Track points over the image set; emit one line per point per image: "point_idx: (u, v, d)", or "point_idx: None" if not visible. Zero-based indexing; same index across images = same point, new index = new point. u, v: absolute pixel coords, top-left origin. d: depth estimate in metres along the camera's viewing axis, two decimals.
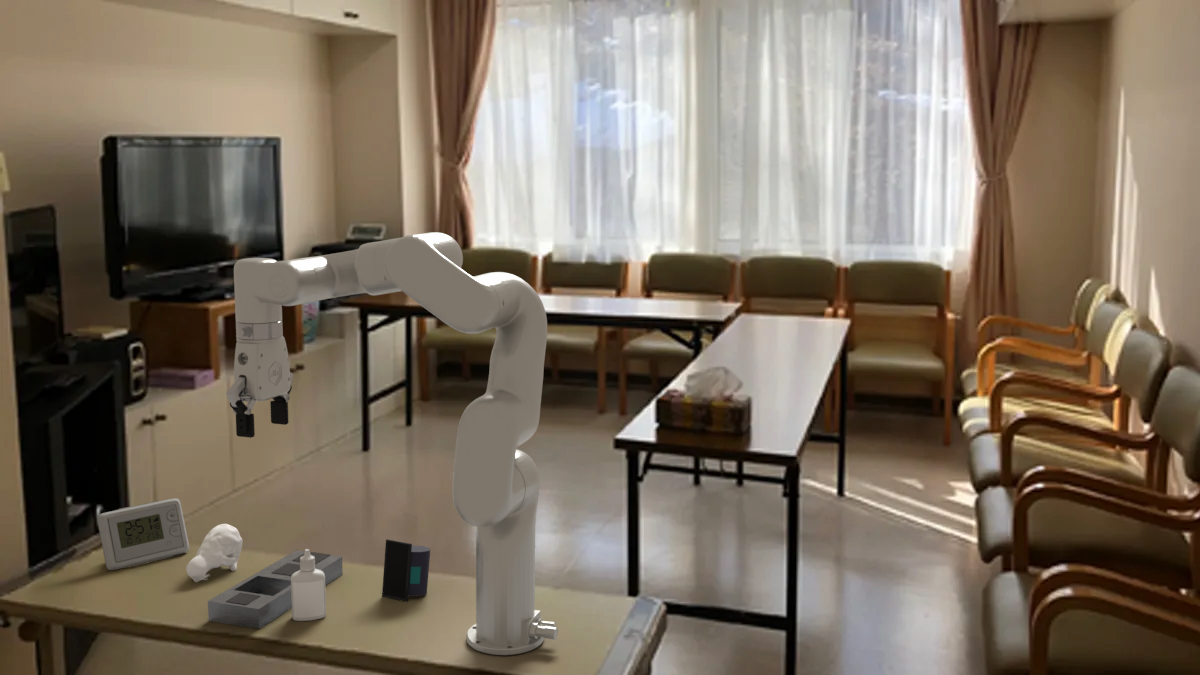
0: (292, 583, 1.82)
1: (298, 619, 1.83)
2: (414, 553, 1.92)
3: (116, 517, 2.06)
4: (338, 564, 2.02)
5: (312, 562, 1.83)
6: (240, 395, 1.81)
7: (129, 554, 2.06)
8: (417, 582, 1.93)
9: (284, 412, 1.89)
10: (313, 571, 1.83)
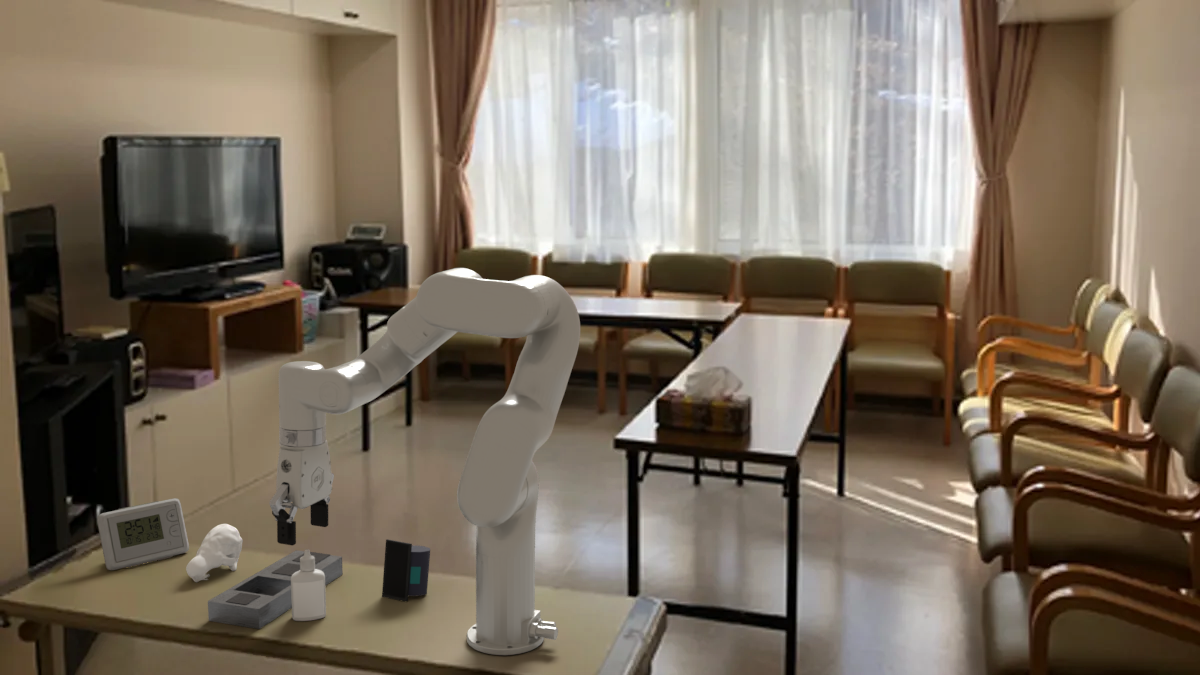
0: (292, 583, 1.82)
1: (298, 619, 1.83)
2: (414, 553, 1.92)
3: (116, 517, 2.06)
4: (338, 564, 2.02)
5: (312, 562, 1.83)
6: (282, 502, 1.78)
7: (129, 554, 2.06)
8: (417, 582, 1.93)
9: (324, 515, 1.86)
10: (313, 571, 1.83)
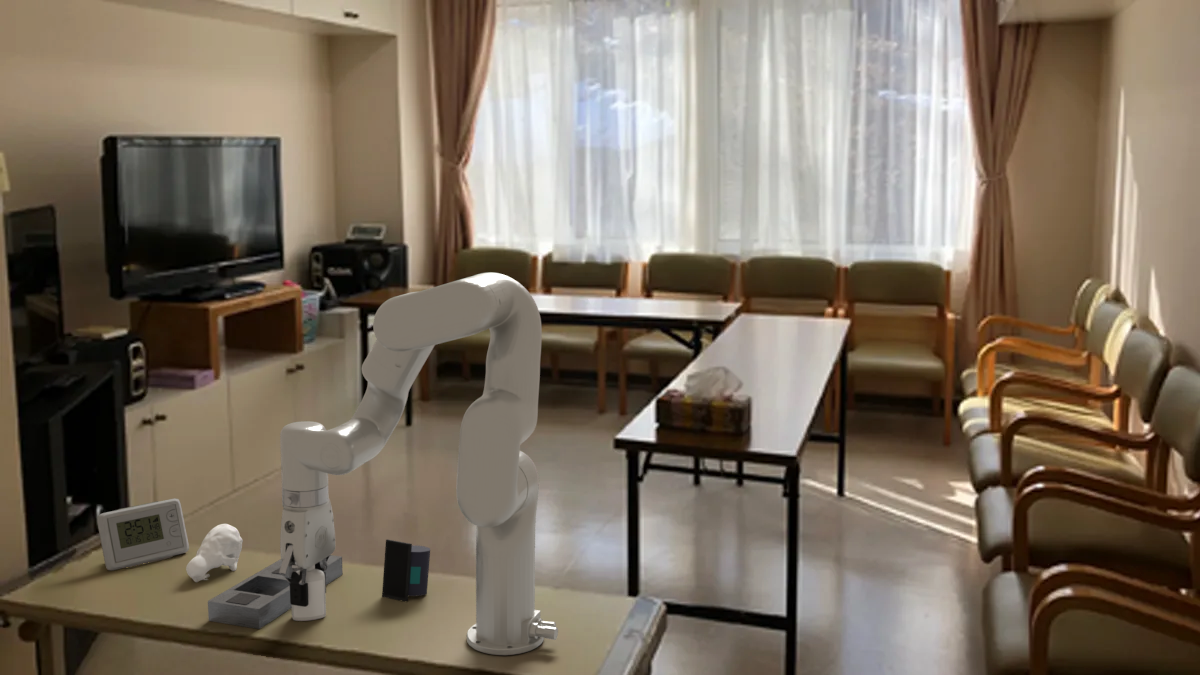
0: None
1: (298, 619, 1.83)
2: (414, 553, 1.92)
3: (116, 517, 2.06)
4: (338, 564, 2.02)
5: None
6: None
7: (129, 554, 2.06)
8: (417, 582, 1.93)
9: None
10: (313, 571, 1.83)
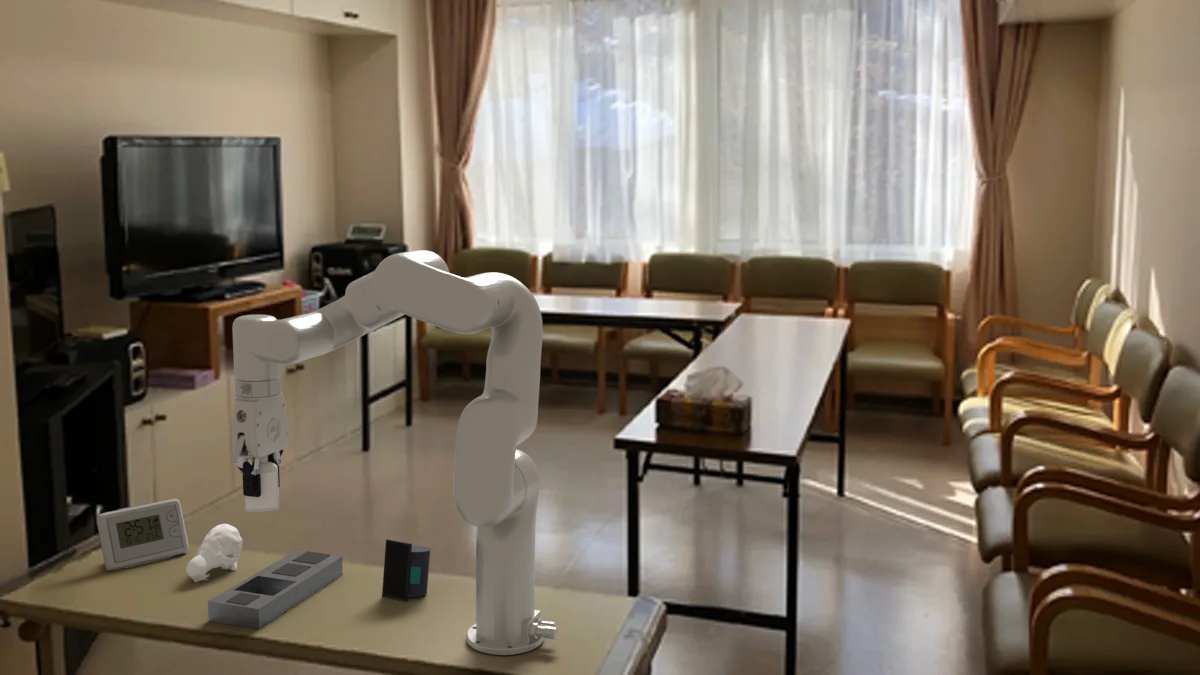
0: None
1: (251, 510, 1.85)
2: (414, 553, 1.92)
3: (115, 517, 2.06)
4: (338, 564, 2.02)
5: None
6: None
7: (128, 554, 2.06)
8: (417, 582, 1.93)
9: None
10: (266, 463, 1.85)
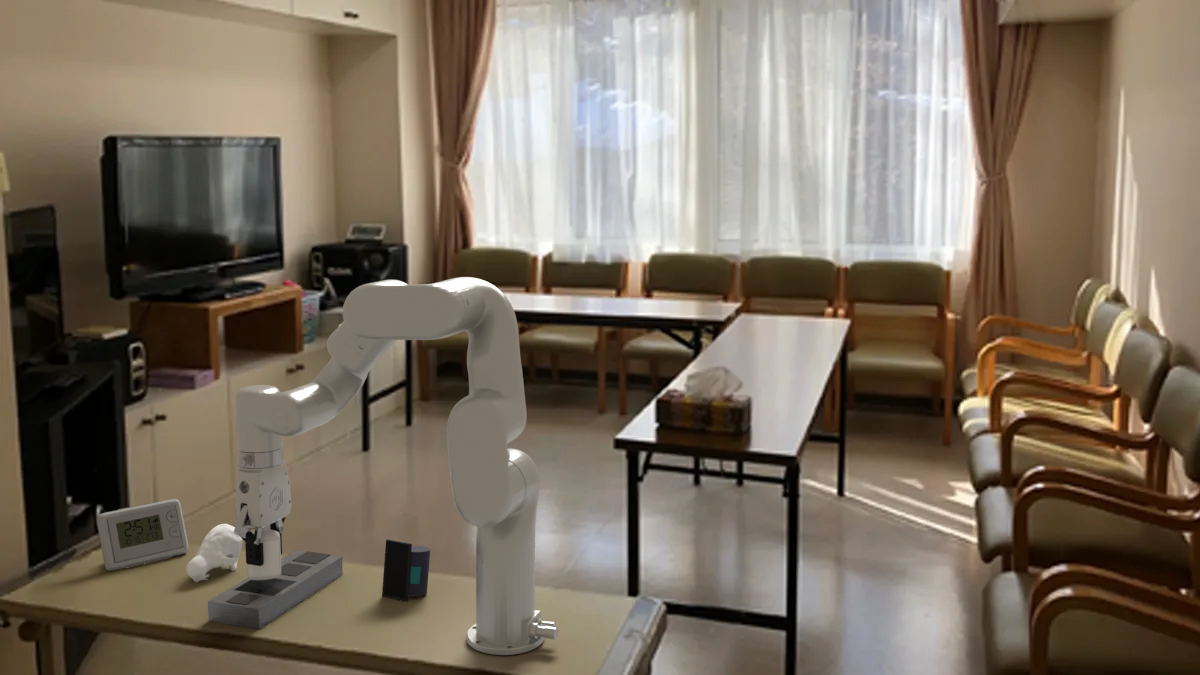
0: None
1: (253, 578, 1.87)
2: (414, 553, 1.92)
3: (115, 517, 2.06)
4: (338, 564, 2.02)
5: None
6: None
7: (128, 555, 2.05)
8: (417, 582, 1.93)
9: None
10: (268, 531, 1.87)
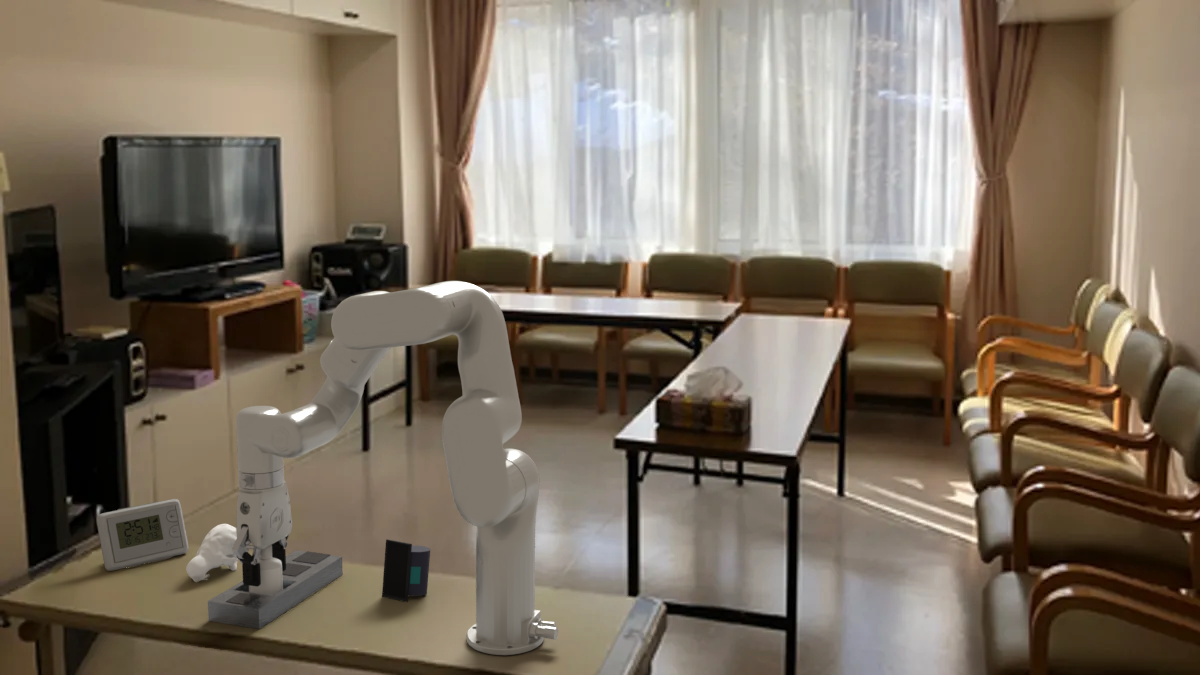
0: None
1: None
2: (414, 553, 1.92)
3: (115, 517, 2.06)
4: (338, 564, 2.02)
5: (269, 550, 1.88)
6: None
7: (128, 555, 2.05)
8: (417, 582, 1.93)
9: (282, 559, 1.91)
10: (270, 559, 1.88)
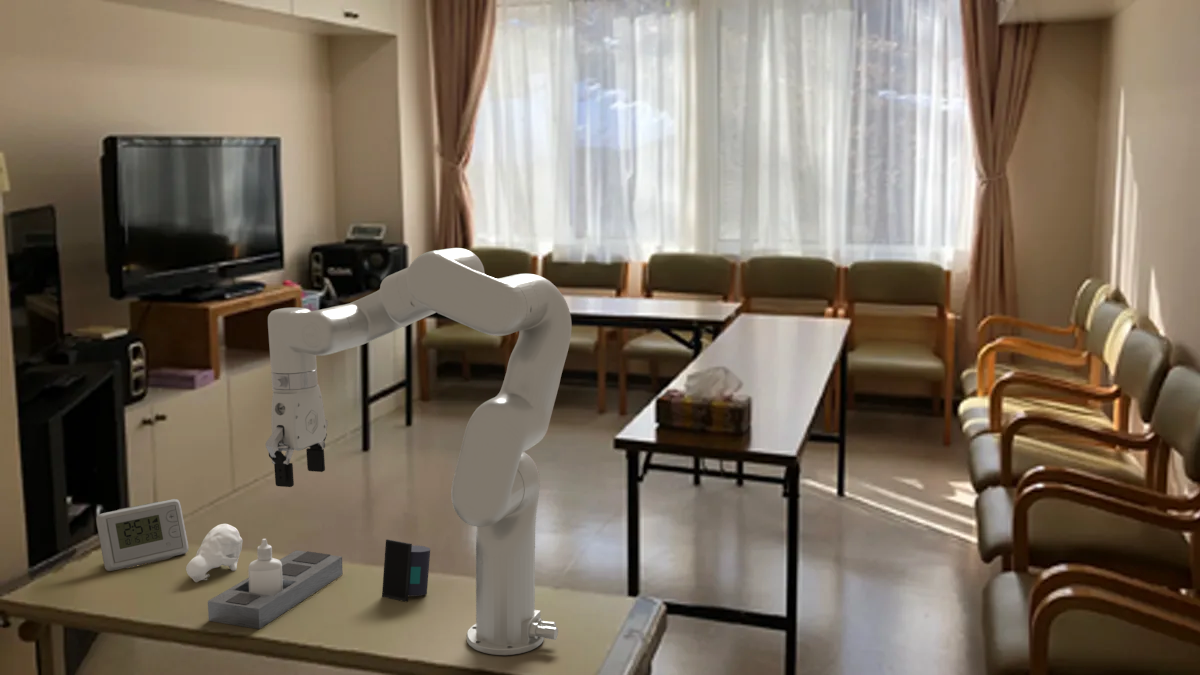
0: (249, 571, 1.87)
1: None
2: (414, 553, 1.92)
3: (115, 518, 2.05)
4: (338, 564, 2.02)
5: (269, 551, 1.87)
6: (278, 445, 1.81)
7: (128, 555, 2.05)
8: (417, 582, 1.93)
9: (320, 459, 1.90)
10: (270, 560, 1.88)
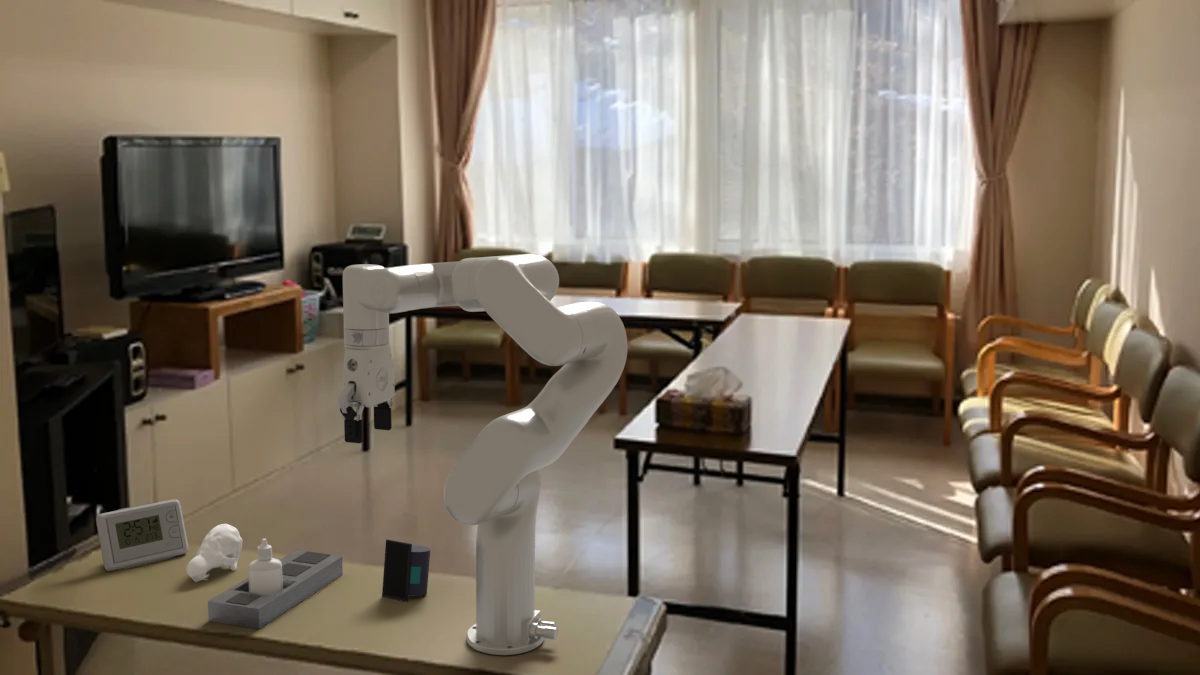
0: (249, 571, 1.87)
1: None
2: (414, 553, 1.92)
3: (115, 518, 2.05)
4: (338, 564, 2.02)
5: (269, 551, 1.87)
6: (349, 401, 1.81)
7: (127, 555, 2.05)
8: (417, 582, 1.93)
9: (388, 418, 1.90)
10: (270, 560, 1.88)
